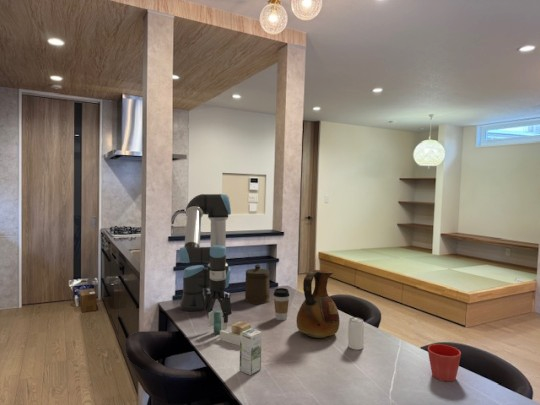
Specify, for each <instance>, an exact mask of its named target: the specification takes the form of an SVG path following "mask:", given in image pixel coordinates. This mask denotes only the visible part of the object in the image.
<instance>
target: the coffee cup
mask: <svg viewBox="0 0 540 405" xmlns="http://www.w3.org/2000/svg"><path fill="white" fill-rule="evenodd" d="M273 297H274V299H273V302H274V312H275V313H274V314H275V320H277V321H285V320H287V319H288V312H289V311H288V310H289V301H290V299H289V298H290V292H289V289H287V288H286V287H285V288H283V287H280V288H279V287H278V288H276V289H274V292H273Z"/></svg>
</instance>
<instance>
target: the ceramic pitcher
mask: <svg viewBox="0 0 540 405" xmlns="http://www.w3.org/2000/svg"><path fill="white" fill-rule="evenodd" d="M333 274H334V271H330V270H321V269H310V270H309V272H307V273H306V275H305V276H304V279H303V284H302V289H303V294H304V298H305V299H304V300H303V302H302V304H301V306H300V307H299V310H298V311H297V315H296V327H297V330H298V331H300V332H301V333H303V334H306V336H308V337H312V338H317V339H325V338H326V337H328V336H333V335H335V334H337V333H338V331H339V328H340V315H339V310H338V307H337V305H336V303H335V302H334V300H333V298H331V296H329V294H328V291H327V287H328V286H327V285H328V280H329V278H330V277H331V276H332V275H333ZM313 279H314V289H313V291H312V285H313V284H312V283H313Z"/></svg>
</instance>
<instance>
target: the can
mask: <svg viewBox="0 0 540 405" xmlns="http://www.w3.org/2000/svg"><path fill="white" fill-rule="evenodd" d="M347 333H348V336H347V338H348V339H347V340H348V341H347V345H348V348H350V350H354V351H362V350H363V349H364V347H365V346H364V344H365V323H364V319H363V318H361V317H357V316H352V317H349V320H348V332H347Z"/></svg>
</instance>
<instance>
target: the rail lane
mask: <svg viewBox="0 0 540 405" xmlns="http://www.w3.org/2000/svg"><path fill="white" fill-rule="evenodd" d="M251 329H253V328H252V327H251ZM254 329H255V328H254ZM255 330H258V331H260V330H259V329H255ZM219 340H220V341H224V342H226V343H229V344H233V345H236V346H239V347H240V335H237V334H234V333H232V332H230V331H227V330H222V329H221V331H220V334H219Z"/></svg>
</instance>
